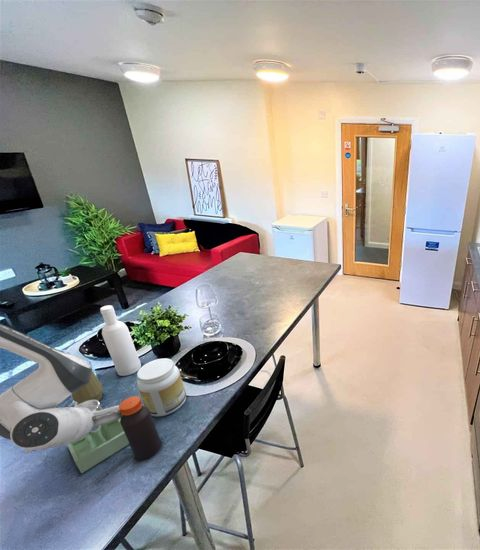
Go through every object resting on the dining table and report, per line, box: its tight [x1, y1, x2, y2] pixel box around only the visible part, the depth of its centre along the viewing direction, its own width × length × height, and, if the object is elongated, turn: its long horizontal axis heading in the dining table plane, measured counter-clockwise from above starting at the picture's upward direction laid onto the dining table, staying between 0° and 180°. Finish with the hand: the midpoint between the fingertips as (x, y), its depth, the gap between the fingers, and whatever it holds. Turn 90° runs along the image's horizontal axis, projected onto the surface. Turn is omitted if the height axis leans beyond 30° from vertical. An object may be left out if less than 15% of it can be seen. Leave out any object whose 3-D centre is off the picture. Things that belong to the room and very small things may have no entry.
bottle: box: [99, 304, 142, 377], centre depth 114 cm, size 8×8×30 cm
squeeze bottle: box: [71, 370, 104, 405], centre depth 102 cm, size 8×8×18 cm
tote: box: [66, 419, 130, 474], centre depth 90 cm, size 13×13×5 cm
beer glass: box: [75, 400, 114, 451], centre depth 87 cm, size 7×7×15 cm
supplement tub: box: [136, 357, 187, 417], centre depth 102 cm, size 12×12×17 cm
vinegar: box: [118, 395, 162, 461], centre depth 86 cm, size 7×7×20 cm
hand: (92, 422), depth 87 cm, fingers closed on beer glass, 7 cm apart
